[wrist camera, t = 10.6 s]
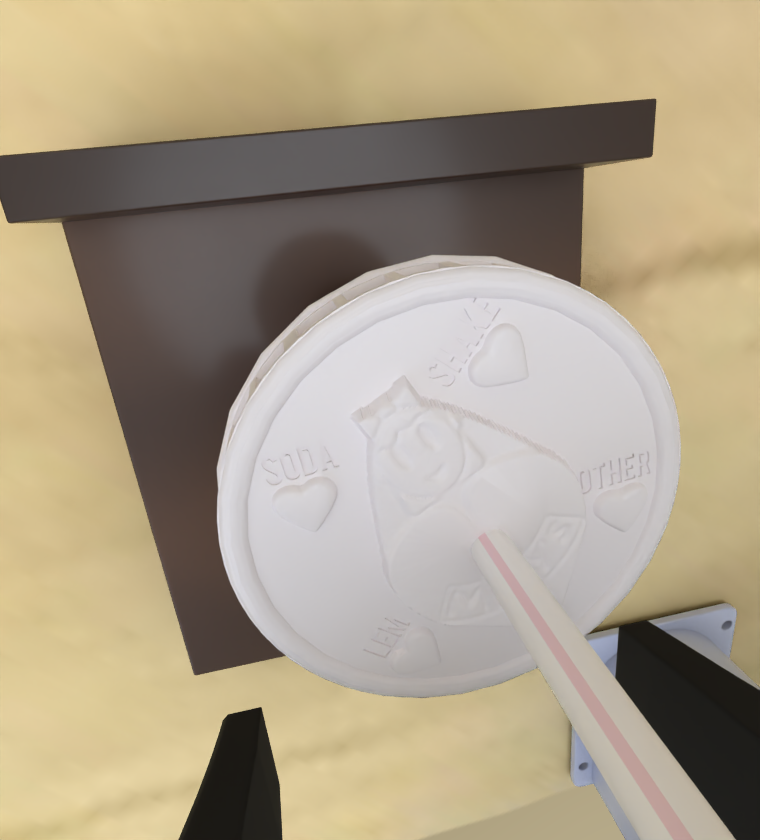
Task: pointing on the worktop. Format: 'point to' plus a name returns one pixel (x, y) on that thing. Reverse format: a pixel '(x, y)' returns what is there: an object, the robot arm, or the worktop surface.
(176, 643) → the worktop surface
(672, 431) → the smoothie
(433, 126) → the shelf
